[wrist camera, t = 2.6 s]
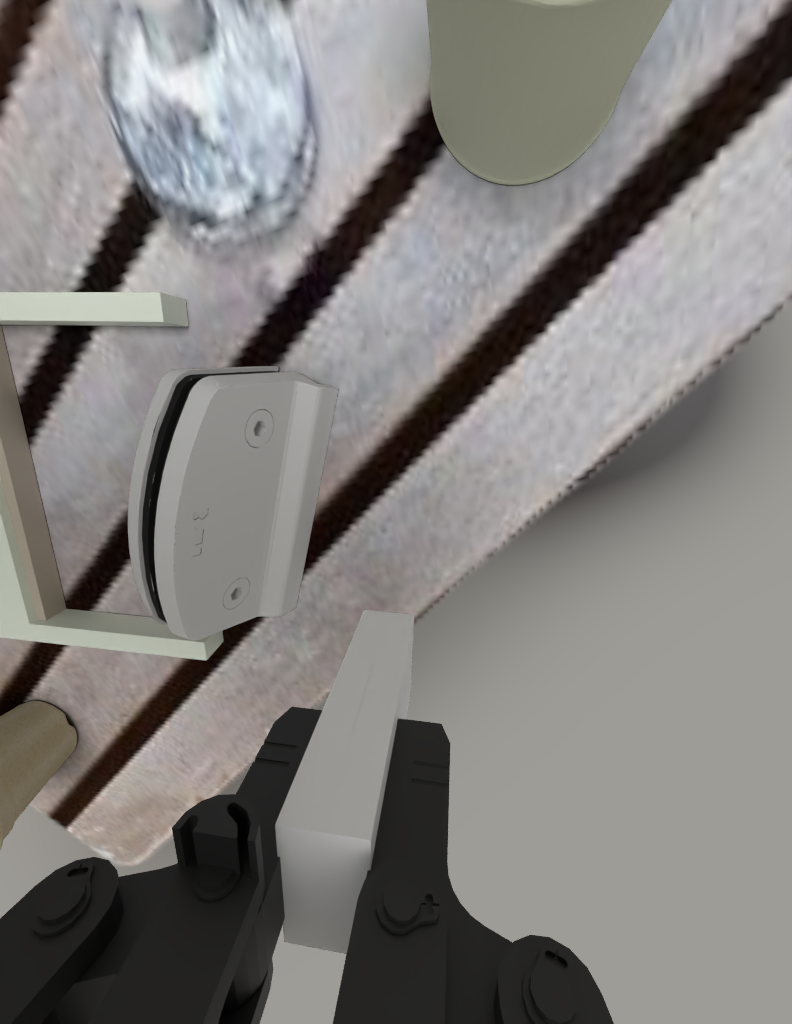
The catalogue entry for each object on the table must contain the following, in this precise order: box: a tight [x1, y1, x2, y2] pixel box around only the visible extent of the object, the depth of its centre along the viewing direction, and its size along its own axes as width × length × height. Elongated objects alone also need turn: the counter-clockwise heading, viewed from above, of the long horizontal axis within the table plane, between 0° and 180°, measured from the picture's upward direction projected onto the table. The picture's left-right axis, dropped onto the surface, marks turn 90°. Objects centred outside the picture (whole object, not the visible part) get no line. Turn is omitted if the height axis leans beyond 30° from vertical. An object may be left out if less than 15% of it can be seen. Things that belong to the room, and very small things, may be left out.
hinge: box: [128, 366, 339, 641], centre depth 26 cm, size 17×5×10 cm, turn 166°
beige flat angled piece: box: [0, 292, 224, 660], centre depth 30 cm, size 20×24×2 cm
